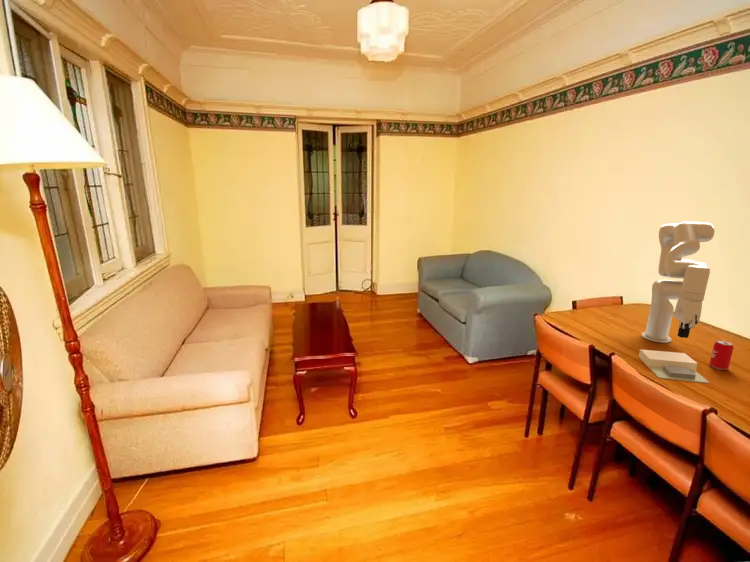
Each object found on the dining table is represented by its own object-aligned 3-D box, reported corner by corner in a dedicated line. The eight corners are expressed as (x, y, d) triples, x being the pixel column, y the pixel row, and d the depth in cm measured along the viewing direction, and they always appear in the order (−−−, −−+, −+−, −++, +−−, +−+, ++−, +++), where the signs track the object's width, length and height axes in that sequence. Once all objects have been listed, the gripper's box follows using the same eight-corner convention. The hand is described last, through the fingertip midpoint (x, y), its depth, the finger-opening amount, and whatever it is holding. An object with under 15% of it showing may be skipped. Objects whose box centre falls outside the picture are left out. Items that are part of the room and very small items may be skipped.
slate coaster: (670, 372, 155) (669, 376, 156) (695, 375, 153) (694, 379, 153) (663, 365, 161) (662, 370, 161) (688, 368, 159) (687, 372, 159)
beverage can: (718, 363, 167) (724, 339, 164) (731, 370, 161) (738, 345, 158) (705, 364, 167) (711, 339, 164) (718, 370, 161) (724, 345, 158)
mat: (648, 367, 165) (648, 366, 164) (696, 372, 160) (696, 371, 160) (658, 378, 156) (658, 377, 155) (709, 383, 151) (709, 382, 151)
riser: (638, 357, 174) (640, 349, 173) (683, 361, 170) (685, 353, 169) (648, 367, 165) (649, 358, 164) (695, 371, 161) (697, 363, 160)
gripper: (672, 289, 159) (663, 329, 164) (691, 300, 145) (681, 343, 150) (692, 290, 157) (683, 330, 162) (714, 301, 143) (703, 345, 148)
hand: (682, 336), depth 156 cm, fingers closed
